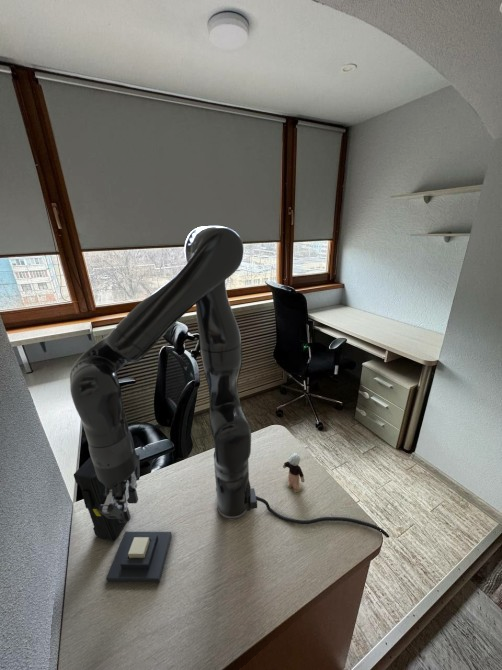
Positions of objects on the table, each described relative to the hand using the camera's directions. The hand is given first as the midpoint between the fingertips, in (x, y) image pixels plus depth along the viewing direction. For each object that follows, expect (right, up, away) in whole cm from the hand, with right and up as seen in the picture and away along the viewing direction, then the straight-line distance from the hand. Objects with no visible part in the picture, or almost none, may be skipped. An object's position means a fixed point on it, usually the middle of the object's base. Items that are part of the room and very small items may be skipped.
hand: (129, 510), depth 59 cm
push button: (0, -16, +7) cm, 17 cm away
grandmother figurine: (+40, -8, +24) cm, 48 cm away
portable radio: (-10, -13, +13) cm, 21 cm away
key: (0, -13, +5) cm, 14 cm away
